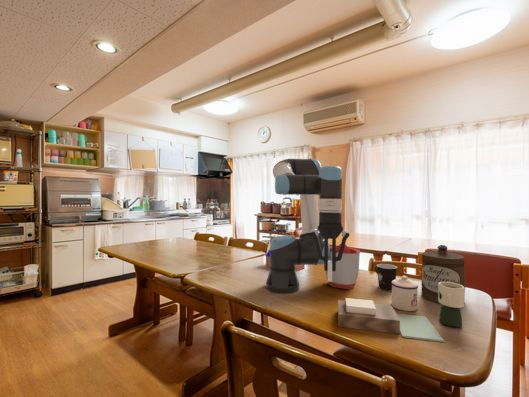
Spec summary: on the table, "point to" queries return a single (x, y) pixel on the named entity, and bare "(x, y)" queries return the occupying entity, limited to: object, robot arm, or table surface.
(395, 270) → the coffee mug
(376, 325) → the block
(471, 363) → the table surface
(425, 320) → the mat
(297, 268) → the house
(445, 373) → the table surface
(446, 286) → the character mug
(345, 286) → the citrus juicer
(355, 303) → the tile
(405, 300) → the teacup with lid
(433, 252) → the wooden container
